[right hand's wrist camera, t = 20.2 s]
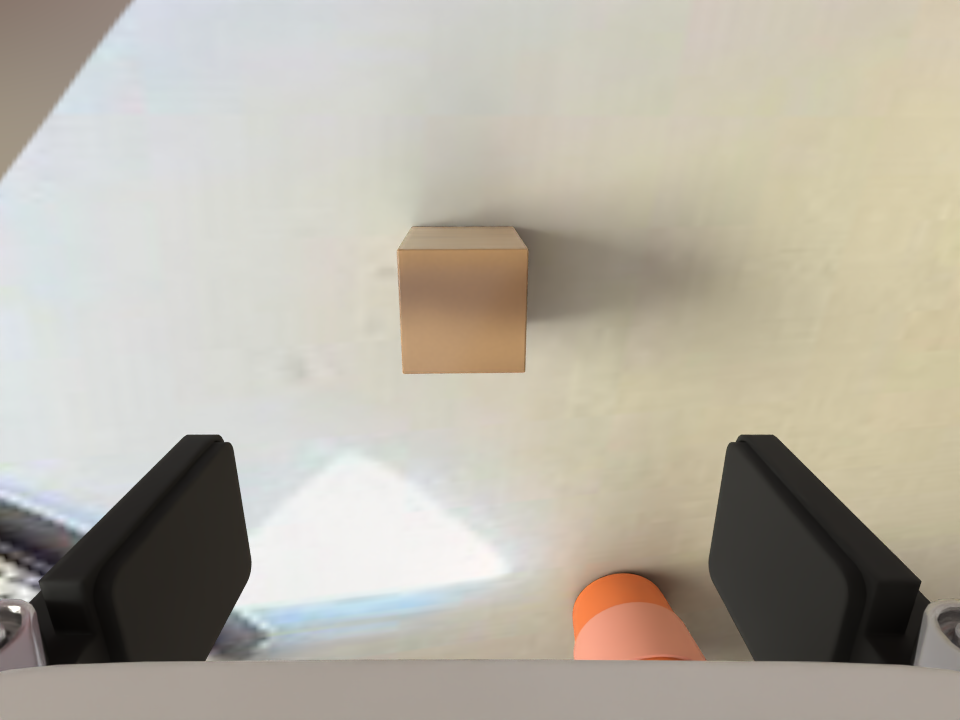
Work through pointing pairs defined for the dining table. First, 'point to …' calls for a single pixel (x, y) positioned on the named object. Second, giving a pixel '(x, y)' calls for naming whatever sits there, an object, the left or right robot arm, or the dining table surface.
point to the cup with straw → (629, 623)
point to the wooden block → (463, 300)
